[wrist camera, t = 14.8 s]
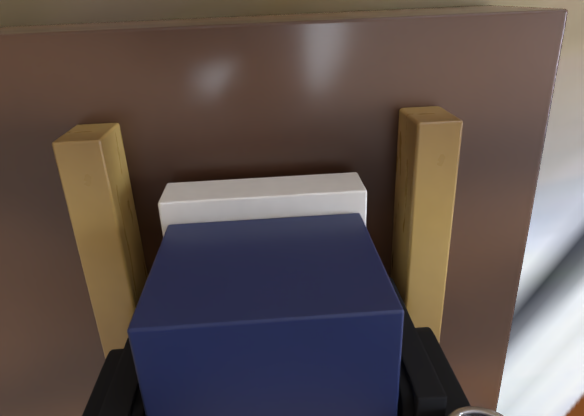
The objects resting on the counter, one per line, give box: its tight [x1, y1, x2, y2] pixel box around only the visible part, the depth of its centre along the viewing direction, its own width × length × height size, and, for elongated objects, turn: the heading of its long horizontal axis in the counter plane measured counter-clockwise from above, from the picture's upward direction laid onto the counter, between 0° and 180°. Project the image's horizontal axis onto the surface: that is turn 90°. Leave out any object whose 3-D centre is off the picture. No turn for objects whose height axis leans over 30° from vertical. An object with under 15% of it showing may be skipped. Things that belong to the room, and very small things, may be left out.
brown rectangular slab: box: [0, 5, 568, 416], centre depth 15 cm, size 18×24×6 cm
